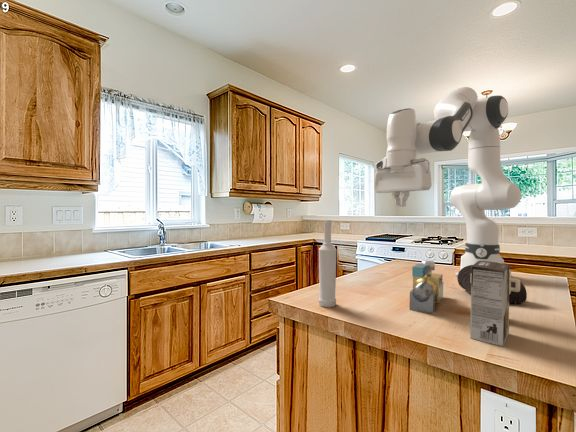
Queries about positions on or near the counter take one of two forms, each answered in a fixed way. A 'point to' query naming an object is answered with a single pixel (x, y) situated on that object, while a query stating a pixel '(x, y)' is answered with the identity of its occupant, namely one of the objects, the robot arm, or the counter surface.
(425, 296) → the valve pipe
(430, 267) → the lever
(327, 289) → the bottle
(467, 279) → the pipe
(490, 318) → the coffee box
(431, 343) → the counter surface
